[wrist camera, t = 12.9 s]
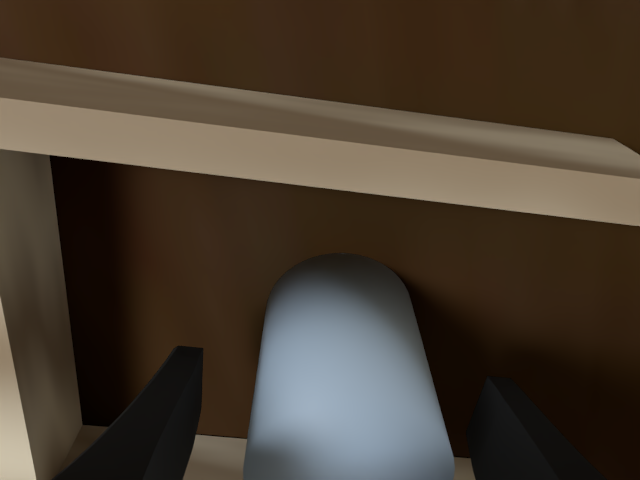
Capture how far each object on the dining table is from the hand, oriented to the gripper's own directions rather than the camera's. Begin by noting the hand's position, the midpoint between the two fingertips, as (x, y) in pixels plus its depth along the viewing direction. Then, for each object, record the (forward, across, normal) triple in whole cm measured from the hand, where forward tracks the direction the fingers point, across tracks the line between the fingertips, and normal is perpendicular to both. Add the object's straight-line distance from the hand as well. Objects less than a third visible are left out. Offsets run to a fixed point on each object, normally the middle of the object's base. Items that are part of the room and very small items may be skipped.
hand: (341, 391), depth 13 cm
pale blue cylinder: (+3, 0, 0) cm, 3 cm away
